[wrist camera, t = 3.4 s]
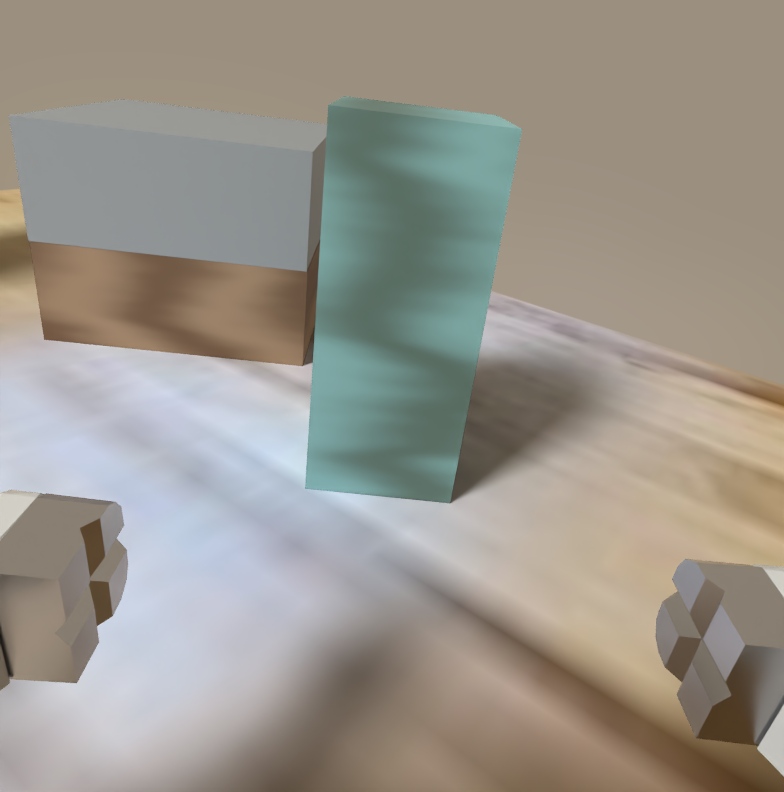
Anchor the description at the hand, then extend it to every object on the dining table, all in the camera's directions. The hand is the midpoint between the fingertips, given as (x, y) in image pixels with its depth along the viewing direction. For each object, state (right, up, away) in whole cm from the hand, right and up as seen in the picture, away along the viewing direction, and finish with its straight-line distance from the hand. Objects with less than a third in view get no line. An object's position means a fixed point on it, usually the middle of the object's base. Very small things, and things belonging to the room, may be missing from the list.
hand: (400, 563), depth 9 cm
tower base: (-10, +7, +26) cm, 29 cm away
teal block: (-1, 0, +15) cm, 15 cm away
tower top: (-10, +11, +24) cm, 28 cm away
